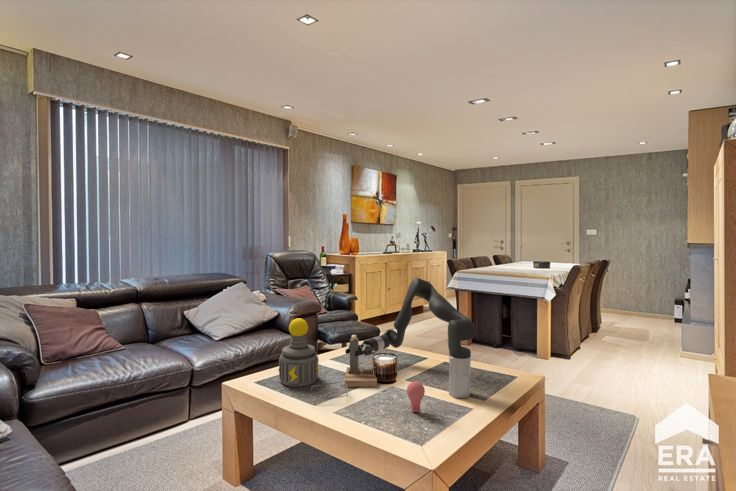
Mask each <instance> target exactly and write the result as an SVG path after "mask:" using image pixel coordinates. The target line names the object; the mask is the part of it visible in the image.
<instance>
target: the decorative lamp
mask: <svg viewBox="0 0 736 491" xmlns="http://www.w3.org/2000/svg"><path fill="white" fill-rule="evenodd" d="M308 330H309V325H308V322H307V321H306V320H305V319H303V318H298V317H297V318H295V319H292V320H291V321H290V323H289V325H288V332H289V334H290V335H291V339H290V343H289V344H288V345H286V346H284V347H283V348H282V349H281V354H280V355H279V359H278V367H279V368H278V373H279V374H278V379H279V380H280V383H281V384H282V385H284V386H288V387H292V388H293V387H294V388H298V387H300V388H301V387H306V386H310V385H312V384H313V383H315V382H317V380H318V378H319V371H320V368H319V360H320V359H319V357H318V353H317V352H316V348H315V346H314V345H311V344H308V341H307V335H306V334H307V333H308Z"/></svg>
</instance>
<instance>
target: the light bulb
mask: <svg viewBox="0 0 736 491" xmlns="http://www.w3.org/2000/svg"><path fill="white" fill-rule="evenodd" d="M425 391H426V390H425V387H424V385H423V384H422V383H421V382H420V381H412V382H410V383H409V384H408V386H407V388H406V394H407V397H408V399H409V400H410V408H411V409H410V410H411V411H412V412H414V413H418V412H420V411H421V401H422V400H423V398H424V396H425V393H426V392H425Z"/></svg>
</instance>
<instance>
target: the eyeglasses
mask: <svg viewBox="0 0 736 491" xmlns="http://www.w3.org/2000/svg"><path fill="white" fill-rule="evenodd" d="M338 383H340V384H341V381H338V382H337V381H336V382H335V381H334V382H330V383H324V384H317V385H312V386H311V388H310V390H311V391H313V388H314V387H321V386H326V385H332V384H333V385H334V384H338ZM343 383H345V382H344V381H343ZM340 387H341V389H343V387H342V386H340ZM344 390H345V391H344V393H348V387H346V385H345V387H344ZM341 397H346V398H348V397H349V396H348V394H344V395H338V396H333V397H328V398H321V399H320V398H319V399H316V400H315V401H314V405H315V406H317V402H318V401H324V400H330V399H335V398H341ZM346 401H347V402H348V401H349V400H348V399H346Z"/></svg>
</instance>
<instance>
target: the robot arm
mask: <svg viewBox="0 0 736 491" xmlns="http://www.w3.org/2000/svg"><path fill="white" fill-rule="evenodd" d="M416 297H417V298H421V299H424V300H425V301H427V302H428V309H429V310H430V312H431V314H433V315H434V316H435V317H436V318H437V319H439V320H440V321H443V322H446V323H448V325H447V341H448V342H447V344H448V351H449V356H448V360H449V361H448V364H449V365H448V394H449V395H450V396H452V397H453V398H454V399H469V397H470V396H471V366H472V365H471V363H472V359H471V358H472V351H471V349H470V348H468V347H465V346H462V343H461V341H463V342H464V341H469V340H472V339H474V338H475V337H476V335H477V329H476V325H475V324H474V322H473V321H472V320H471V319H470V318H468V316H466V315H465V314H464V313H461V311H459V310H458V309H457V308H455V307H454V306H453V305H452V304H451V303H450V302H449V301H448V300H447V299H446V298H445V297H444V296H443V295H441V294H440V293H439V291H437V289H436V288H435V287H434V286H433V284H432V283H431V282H429V281H427V280H426V279H422V278H419V277H414V278H412V280H411V281H410V284H409V285H408V288H407V291H406V294H405V296H404V300H403V303H402V305H401V308H400V311H399V313H398V315H396V316H397V317H396V318H395V321H394V322H393V327H394V329H395V330H396V331H395V330H394V329H387V330H386V331H385V332H384V333H382V334H381V335H378V336H374V337H371V338H368V339H365V340H363V342H362V343H359V351H356V352H355V356H356V357H357V356H359V357H360V356H366V357H367V356H371V355H374V354H376V353H378V352H380V351H382V350H385V349H387V348H389V347H390V346H392V347H393V348H395V349H397V348H399V347H401V346H402V344H403V342H404V338H405V334H406V330H407V328H408V326H409V324H410V322H411V320H412V316H413V311H412V309H413V308H412V304H413V300H414V298H416ZM345 354H346V355H348V354H350V345H348V348H345Z"/></svg>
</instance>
